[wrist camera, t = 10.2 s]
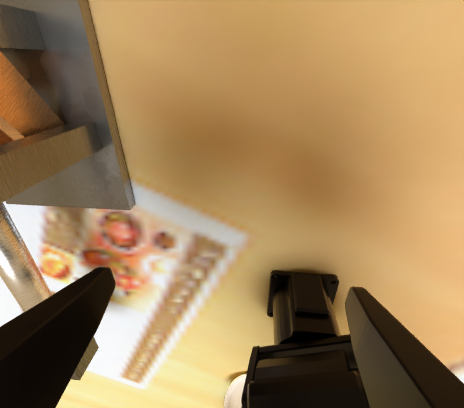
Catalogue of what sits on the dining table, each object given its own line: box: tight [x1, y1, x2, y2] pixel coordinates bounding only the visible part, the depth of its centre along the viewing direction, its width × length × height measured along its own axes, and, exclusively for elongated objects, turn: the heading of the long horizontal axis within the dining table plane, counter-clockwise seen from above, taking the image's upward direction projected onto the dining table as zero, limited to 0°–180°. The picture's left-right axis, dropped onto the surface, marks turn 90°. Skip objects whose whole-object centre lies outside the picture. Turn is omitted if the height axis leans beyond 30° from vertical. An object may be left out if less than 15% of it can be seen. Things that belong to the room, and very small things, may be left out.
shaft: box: [0, 202, 99, 380], centre depth 19 cm, size 19×4×3 cm, turn 1°
